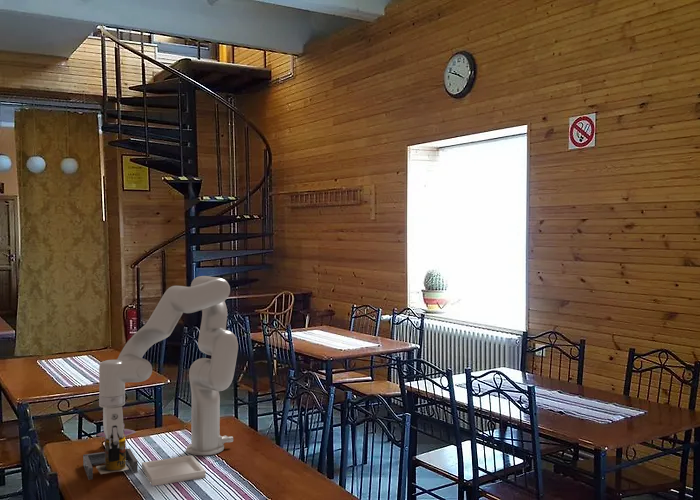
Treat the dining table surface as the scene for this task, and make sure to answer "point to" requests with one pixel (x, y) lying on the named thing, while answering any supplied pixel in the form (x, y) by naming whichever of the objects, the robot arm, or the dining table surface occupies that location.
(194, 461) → the tray
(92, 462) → the bracket
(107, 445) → the condiment
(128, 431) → the lily
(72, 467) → the dining table surface
